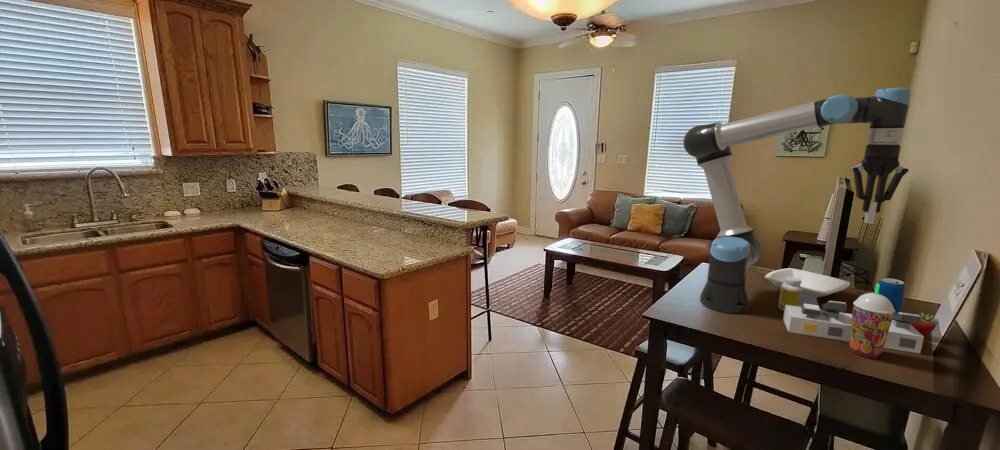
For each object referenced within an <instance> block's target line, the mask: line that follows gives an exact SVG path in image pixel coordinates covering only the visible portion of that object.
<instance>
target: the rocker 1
mask: <svg viewBox="0 0 1000 450" xmlns="http://www.w3.org/2000/svg"><path fill="white" fill-rule="evenodd" d="M798 298H799V301H800V307H801V309H802V313H803V314H808V315H814V316H819V315H820V310H821V307H820V306H819V305H820V304H819V303H818V300H817V298H816V296H815V295H812V294H805V293H799V297H798Z"/></svg>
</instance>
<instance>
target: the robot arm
mask: <svg viewBox="0 0 1000 450" xmlns="http://www.w3.org/2000/svg"><path fill="white" fill-rule="evenodd" d="M911 93H912V91H911V90H910V89H909V88H907V87H889V88H888V87H887V88H881V89H880V88H879V89H877V90H876V91H875V94H874V96H866V97H865V96H862V97H861V96H860V97H854V96H852V95H850V94H843V93H841V94H835V95H832V96H831V97H828V98H824V99H820V100H816V101H812V102H808V103H802V104H800V105H799V104H798V105H795V106H792V107H787V108H783V109H779V110H775V111H771V112H766V113H763V114H760V115H754V116H750V117H746V118H742V119H739V120H733V121H729V122H726V123H722V122H720V121H716V122H714V123H708V124H700V125H698V124H697V125H696V126H693V127H692V128H690V129H689V130H688V131H687V132H686V133H685V135H684V138H683V141H682V142H683V143H682V144H683V148H684V150H685V151H686V153H687V154H688V155H690V156H691V157H693V158H696V163H697V166H698V167H699V168H701V169H703V171H704V175H705V179H706V182H707V187H708V190H709V193H710V196H711V197H710V198H711V200H712V203H713V204H712V205H713V207H714V210H715V211H714V212H715V215H716V218H717V222H718V226H719V228H720V231H719V232H718V234H717V238H715V239H713V241H712V242H711V246H710V249H709V252H710V253H709V263H708V270H707V271H708V272H707V273H708V274H707V281H706V283H705V285H704V287H703V289H702V290H701V293H700V294H699V295H700V296H699V302H701V303H702V304H703V305H702V304H701V305H702V306H704V305H705V306H704V307H706V306H707V307H706V308H708V307H709V308H708V309H710V308H711V310H713V309H714V311H716V310H718V311H717V312H721V311H722V313H729V314H741V313H745V312H747V311H748V310H749V306H750V305H749V304H750V303H749V299H748V294H747V289H746V281H747V273H748V270H749V268H750V267H752V266H754V265H755V264H756V263H757V262H758V261H759V260H760V257H761V255H762V253H763V252H762V251H763V249H762V244H761V242H760V240H759V239H758V238H757V237H756V235H755V233H754V228H752V227H750V226H749V225H748V224H747V222H746V218H745V214H744V210H743V207H742V204H741V200H740V197H739V193H738V190H737V185H736V183H735V179H734V176H733V172H732V167H731V164H730V162H731V159H732V158H733V155H732V154H733V153H732V150H731V147H732V146H735V145H740V144H745V143H750V142H755V141H759V140H764V139H769V138H773V137H779V136H784V135H787V134H792V133H797V132H802V131H806V130H811V129H817V128H821V127H827V126H831V125H832V126H833V125H837V124H838V125H841V124H867V123H868V124H869V130H868V132H867V133H868V134H867V140H866V142H867V143H868V144H867V145H866V146H865V151H864V156H863V157H864V158H863V160H861V162H860V164H858V165H856V166H852V167H850V171H851V172H852V174H853V178H854V179H853V180H854V187H855V193H856V198H857V199H859V200H862V201H863V203H862V209H861V210H862V212H863V213H865V214H864V215H865V216H864V220H863V222H864V223H866V224H869V225H870V224H871V225H874V224H875V223H874V222H875V217H876V213H877V214H878V213H880V212H881V207H882V203H883V202H885V201H890V200H891V199H892V198H893V196H894V194H895V192H896V190H897V188H898V186H899V184H900V182H901V180H902V178H903V177H904V176H905V175H906V174H907V173H908V172H909V169H908V168H905V167H903V166H902V165H900V161H899V157H900V152H901V149H902V148H901V147H902V146H901V145H900V144H899V143H902V141H903V137H904V130H905V126H906V121H907V117H908V113H909V107H910V101H911V100H910V99H911ZM863 170H864V171H865V173H866V174H867V176H866V178H867V179H866V184H865V190H864V185H863V177H862V176H863V175H862V172H863ZM892 172H894V175H893V176H892V178H891V180H890V182H889V184H888V186H887V188H886V184H887V180H888V178H889V175H890V174H891V173H892ZM876 179H877V183H876ZM875 183H876V190H875V195H874V200H872V198H873V193H874V188H875Z"/></svg>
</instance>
